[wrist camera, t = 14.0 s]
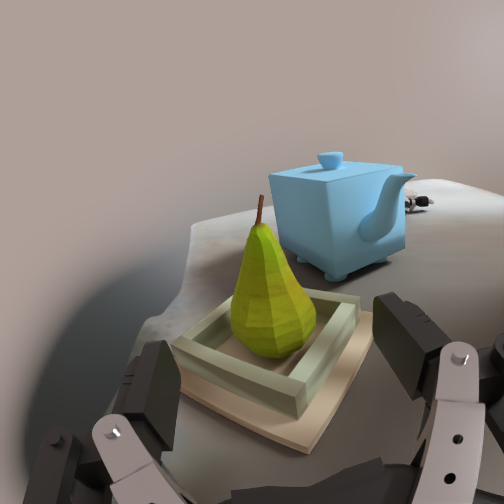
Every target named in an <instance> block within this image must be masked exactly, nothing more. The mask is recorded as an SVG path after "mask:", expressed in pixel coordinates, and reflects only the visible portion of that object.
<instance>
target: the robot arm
mask: <svg viewBox="0 0 504 504" xmlns="http://www.w3.org/2000/svg"><path fill="white" fill-rule="evenodd" d="M372 333H373V338H374V341H375V343H376V345H377V346H378V348H379V349H380V351H381V352H382V354H383V355H384V357H385V358H386V360H387V361H388V363H389V364H390V366H391V368H392V369H393V371H394V372H395V374H396V375H397V377H398V378H399V380H400V382H401V383H402V385H403V386H404V388H405V390H406V391H407V393H408V394H409V396H410V398H411V399H412V400H415V399H417V398H419V397H421V396H423V398H424V399H425V403H424V406H423V410H422V415H421V419H420V424H419V428H418V432H417V436H416V439H415V443H414V446H413V449H412V452H411V454H410V457H409V459H408V462H407V464H384V465H383V463H382V461H381V458H380V457H379V458H376V459H374V460H371V461H368V462H365V463H362V464H359V465H356V466H353V467H350V468H347V469H344V470H342V471H341V472H339V473H337V474H335V475H333V476H331V477H329V478H327V479H325V480H323V481H321V482H319V483H317V484H315V485H312V486H309V487H276V486H266V487H258V488H250V489H241V490H231V496H232V498H231V499H228V500H225V501H223V502H220V503H218V504H504V496H500V495H496V494H493V493H489V492H486V491H483V490H479V489H476V485H477V480H478V474H479V468H480V462H481V455H482V446H483V437H484V424H485V422H486V424H487V425H488V427H489V429H490V430H491V432H492V434H493V436H494V437H495V439H496V441H497V442H498V444H499V446H500V448H501V449H502V451H503V453H504V333H502V334H500V335H499V336H498V337H497V338H496V340H495V343H494V345H493V347H489V348H484V349H479V350H475V348H474V347H472V346H471V345H469V344H467V343H465V342H452V341H451V340H450V339H449V337H448V336H447V335H446V334H445V333H444V332H443V331H442V330H441V329H440V328H439V327H438V326H437V325H436V324H435V323H434V322H433V321H431V319H430V318H429V317H428V316H427V315H425V313H424V312H423V311H422V310H421V309H420V308H419V307H418V306H417V305H415V304H413V303H411V302H409V301H404V302H403V301H402V300H401V299H400V298H399V297H398V296H397V295H396V294H395V293H394V292H390V293H387V294H384V295H380V296H377V297H375V298H374V301H373V322H372ZM124 376H125V377H124V378H123V381H122V386H120V389H119V392H118V395H117V398H116V401H115V404H114V407H113V410H112V413H111V415H107V416H105V417H103V418H101V419H100V420H99V421H98V422H97V423H96V424H95V426H94V428H93V431H90V432H86V433H81V434H76V435H74V434H73V433H72V432H71V431H70V430H69V429H68V428H67V427H64V426H58V427H54V428H52V429H51V430H49V431H48V432H47V433H46V434H45V436H44V438H43V440H42V443H41V446H40V449H39V451H38V454H37V457H36V460H35V463H34V467H33V469H32V473H31V476H30V479H29V483H28V486H27V490H26V494H25V497H24V501H23V504H71V502H70V493H71V489H72V484H73V480H74V478H76V479H77V481H76V486H75V490H74V495H73V501H72V504H111V502H112V494H113V495H114V496H115V498H116V500H117V502H118V504H198V503H197V502H196V501H195V500H194V499H193V498H192V497H191V496H190V495H189V493H188V492H187V491H186V490H185V489H184V488H183V486H182V485H181V484H180V483H179V482H178V480H177V479H176V478H175V477H174V475H173V474H172V473H171V472H170V470H169V469H168V468H167V467H166V465H165V464H164V463H163V461H162V460H161V453H162V451H173V442H174V434H175V426H176V418H177V410H178V403H179V396H180V389H181V374H180V371H179V368H178V366H177V364H176V361H175V359H174V357H173V355H172V353H171V350H170V348H169V346H168V344H167V342H166V341H165V340H161V341H153V342H146V343H145V345H144V347H143V350H142V353H141V356H136V357H135V358H134V359H133V360H132V361H131V363H130V364H129V365H128V367H127V370H126V372H125V375H124Z"/></svg>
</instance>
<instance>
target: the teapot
mask: <svg viewBox="0 0 504 504" xmlns="http://www.w3.org/2000/svg"><path fill="white" fill-rule="evenodd" d="M317 157H318V160H319V162H320V164H317V165H311V166H307V167H302V168H296V169H292V170H287V171H282V172H278V173H273V174H269V181H270V187H271V193H272V198H273V204H274V210H275V216H276V222H277V228H278V234H279V240H280V245H281V246H282V247H284V248H285V249H287V250H289V251H290V252H292V253H294V254H295V255H297V256H298V258H297V261H298V262H300V263H310V264H312V265H314V266H315V267H317V268H319V269H320V270H322V271H323V272H325V276H324V278H325V279H326V280H327V281H331V282H338V281H342V280H344V279H346V278H347V274H349V273H351V272H354V271H356V270H358V269H360V268H363V267H365V266H367V265H369V264H372V263H382V262H384V261H386V259H387V258H386V257H387V256H389V255H391V254H393V253H396V252H398V251H400V250H402V249H404V248H405V198H404V184H405V182H407V181H408V180H410V179H411V178H413V177H415V176H416V175H415V174H410V173H403V168H402V167H401V166H395V165H385V164H373V163H361V162H344V161H342V159H343V153H341V152H328V153H322V154H319V155H318V156H317Z"/></svg>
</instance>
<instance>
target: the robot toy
mask: <svg viewBox="0 0 504 504" xmlns="http://www.w3.org/2000/svg"><path fill="white" fill-rule="evenodd" d="M404 198H405V215H407V214H408V213H409V212H410V211H411V210H413V209H414V208H415V207H416V205H417V206H419V207H425V206H428V204H433V203H434V200H432V199H429V198H428V197H426V196H420V197H417V193H416V192H414V191H413V190H409V189H404Z"/></svg>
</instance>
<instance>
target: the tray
mask: <svg viewBox="0 0 504 504" xmlns="http://www.w3.org/2000/svg"><path fill="white" fill-rule="evenodd" d="M303 290H304V291H305V292H306V294H307V295H308V297H309V298H310V300H311V301H312V303H313V304H314V307H315V310H316V325H315V330H314V331H313V333H312V335H311V336H310V337H309V339H308V340H307V342H306V343H305V344H304V346H303V347H302V348H301V349H300V350H298V351H296V352H294V353H292V354H290V355H287V356H285V357H283V358H270V357H260V356H258V355H257V354H255V353H254V352H252V351H251V350H250V349H248V348H247V347H246V346H244V345H243V344H242V343H240V342H239V340H238V339H237V338H236V337H235V335H234V332H233V330H232V327H231V301H232V297H233V295H232V296H231V297H230V298H229V299H227V300H226V301H225V302H223V303H222V304H221V305H220V306H218V307H217V308H216V309H215V310H213V311H212V312H211V313H209V314H208V315H207V316H206V317H204V318H203V319H202V320H201V321H199V322H198V323H197V324H195V325H194V326H193V327H192V328H190V329H189V330H188V331H186V332H185V333H184V334H182V335H181V336H180V337H179V338H177V339H176V340H175V341H173V342H172V343H171V347H172V349H173V351H174V353H175V356H174V359H175V361H176V364H177V366H178V368H179V371H180V374H181V389H180V392H182V393H184V394H185V395H187V396H189V397H190V398H192V399H194V400H195V401H197V402H199V403H200V404H202V405H204V406H206V407H207V408H209V409H211V410H213V411H215V412H216V413H218V414H220V415H222V416H224V417H226V418H228V419H230V420H232V421H233V422H235V423H237V424H239V425H241V426H243V427H245V428H247V429H250V430H252V431H254V432H256V433H258V434H260V435H262V436H264V437H267V438H269V439H271V440H273V441H276V442H278V443H280V444H283V445H285V446H287V447H290V448H292V449H295V450H297V451H300V452H302V453H305V454H308V455H309V454H310V452H311V451H312V449H313V448H314V446H315V445H316V443H317V442H318V440H319V439H320V437H321V436H322V434H323V432H324V431H325V429H326V428H327V426H328V424H329V423H330V421H331V419H332V418H333V416H334V414H335V413H336V411H337V409H338V407H339V406H340V404H341V402H342V400H343V399H344V397H345V395H346V393H347V391H348V389H349V388H350V386H351V384H352V382H353V380H354V378H355V376H356V374H357V372H358V370H359V368H360V366H361V364H362V362H363V360H364V358H365V356H366V354H367V352H368V350H369V348H370V346H371V343H372V341H373V339H374V338H373V333H372V322H373V312H368V311H362V310H360V297H359V296H353V295H346V294H339V293H333V292H326V291H320V290H313V289H307V288H303Z"/></svg>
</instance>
